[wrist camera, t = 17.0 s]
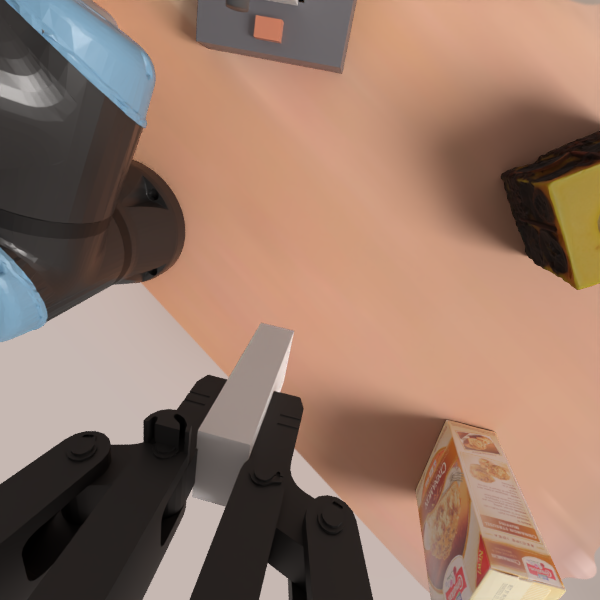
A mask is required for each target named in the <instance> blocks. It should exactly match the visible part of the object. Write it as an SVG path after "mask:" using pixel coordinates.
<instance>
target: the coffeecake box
mask: <svg viewBox="0 0 600 600" xmlns="http://www.w3.org/2000/svg"><path fill="white" fill-rule="evenodd" d="M415 492H416V497H417V504H418V511H419V518H420V525H421V532H422V539H423V546H424V553H425V560H426V567H427V575H428V582H429V589H430V596H431V600H559V598H560V597H561V596H562V595H563V594H564V593H565V592H566V589H565V587H564V585H563V583H562V581H561V579H560V576H559V574H558V572H557V570H556V568H555V565H554V563H553V561H552V559H551V556H550V554H549V552H548V549H547V547H546V545H545V543H544V540H543V538H542V536H541V534H540V531H539V529H538V527H537V525H536V522H535V520H534V518H533V516H532V514H531V511H530V509H529V507H528V505H527V502H526V500H525V498H524V496H523V493H522V491H521V489H520V487H519V484H518V482H517V480H516V478H515V475H514V473H513V471H512V469H511V466H510V464H509V462H508V460H507V457H506V455H505V453H504V451H503V448H502V446H501V444H500V442H499V439H498V437H497V435H496V432H493V431H489V430H485V429H480V428H476V427H472V426H469V425H466V424H463V423H459V422H454V421H450V420H446V422H445V424H444V426H443V429H442V431H441V433H440V435H439V437H438V440H437V442H436V444H435V447H434V449H433V451H432V454H431V456H430V458H429V461H428V463H427V465H426V468H425V470H424V472H423V474H422V477H421V479H420V481H419V484H418V486H417V488H416V491H415Z"/></svg>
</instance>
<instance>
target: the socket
mask: <svg viewBox="0 0 600 600" xmlns="http://www.w3.org/2000/svg"><path fill="white" fill-rule="evenodd" d="M356 1H357V0H304V3H302V2H298V6H296V5H291V4H285V3H279V2H273V1H268V0H250V1H249V11H248V12H238V11H235V10H232V9H230V8H228V7H226V5H225V4H226V0H198V10H197V30H196V41H197V42H199V43H200V44H202V45H204V46H205V47H207V48H208V49H214V50H219V51H224V52H230V53H235V54H240V55H246V56H251V57H256V58H262V59H267V60H272V61H278V62H283V63H288V64H293V65H299V66H304V67H309V68H315V69H320V70H325V71H331V72H336V73H341V74H342V72H343V67H344V62H345V57H346V52H347V47H348V42H349V37H350V32H351V26H352V21H353V16H354V11H355V6H356Z"/></svg>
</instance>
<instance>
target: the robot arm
mask: <svg viewBox="0 0 600 600" xmlns="http://www.w3.org/2000/svg"><path fill="white" fill-rule="evenodd" d="M155 79H156V77H155V70H154V66H153V63H152V61H151V59H150V57H149V56H148V54H147V53H146V52H145V51H144V49H143V48H142V47H141V46H139V45H138V44H137V43H136V42H135V41H134V40H132V39H131V38H130V37H129V36H128V35H126V34H125V33H124V32H123V31H121V30H120V29H119V28H117V27H116V26H115V25H114V24H112V23H111V22H110V21H109V20H107V19H106V18H105V17H103V16H102V15H101V14H99V13H98V12H97V11H95V10H94V9H93V8H91V7H90V6H89V5H87V4H86V3H85V2H83V1H82V0H0V342H3V341H7V340H10V339H13V338H15V337H17V336H20V335H22V334H24V333H27V332H29V331H32V330H36V329H38V328H40V327H42V326H44V324H45V323H46V322H47V321H49V320H50V319H52V318H54V317H56V316H58V315H60V314H61V313H63V312H65V311H67V310H69V309H70V308H72V307H74V306H76V305H77V304H79V303H81V302H83V301H85V300H86V299H88V298H90V297H92V296H93V295H95V294H97V293H99V292H100V291H102V290H104V289H106V288H108V287H109V286H111V285H114V284H128V283H140V282H144V281H148V280H151V279H153V278H155V277H157V276H159V275H160V274H162V273H164V272H165V271H167V270H168V269H169V268H170V267H172V265H173V264H174V263H175V262H176V261H177V259H178V258H179V256H180V254H181V251H182V249H183V245H184V240H185V223H184V218H183V214H182V210H181V207H180V205H179V203H178V200H177V198H176V197H175V195H174V193H173V192H172V190H171V189H170V187H169V186H168V185H167V184H166V182H165V181H164V180H163V179H162V178H161V177H160V176H159V175H158V174H156V173H155V172H154V171H153V170H151V169H150V168H148V167H146V166H145V165H143V164H141V163H138V162H136V161H133V160H132V158H133V156H134V153H135V150H136V147H137V144H138V141H139V138H140V135H141V133H142V130H143V128H146V125H147V121H146V115H147V111H148V107H149V104H150V100H151V96H152V93H153V89H154V86H155ZM293 334H294V331H293V330H289V329H284V328H280V327H276V326H272V325H268V324H264V323H261V324H260V325H259V327H258V329H257V330H256V332H255V334H254V336H253V337H252V339H251V341H250V342H249V344H248V346H247V347H246V349H245V351H244V353H243V354H242V356H241V358H240V359H239V361H238V363H237V365H236V366H235V368H234V370H233V371H232V373H231V375H230V376H229V378H228V380H227V379H223V378H219V377H215V376H211V375H207V376H205V377H204V378H202V379H200V380H199V381H197V382H196V384H195V385H194V387H193V388H192V389H191V391H190V393H189V394H188V395H187V396H186V398H185V400H184V401H183V402H182V403H181V405H180V406H179V408H178V409H177V410H171V409H167V410H160V411H157V412H155V413H153V414H150V415H149V416H148V417H147V418H146V419H145V420H144V442H143V443H139V444H132V445H110V440H109V438H108V437H107V436H106V435H105V434H103V433H100V432H96V431H86V432H81V433H78V434H75V435H73V436H71V437H69V438H67V439H65V440H64V441H62V442H61V443H59V444H58V445H56V446H55V447H53V448H52V449H51V450H49V451H48V452H46V453H45V454H43V455H42V456H40V457H39V458H38V459H36V460H35V461H34V462H32V463H30V464H29V465H28V466H26V467H25V468H23V469H22V470H20V471H19V472H17V473H16V474H15V475H13V476H12V477H10V478H9V479H7V480H6V481H4V482H3V483H1V484H0V600H142V599H143V597H144V595H145V593H146V591H147V589H148V587H149V585H150V583H151V581H152V579H153V577H154V575H155V573H156V571H157V568H158V567H159V564H160V562H161V560H162V558H163V556H164V554H165V552H166V550H167V548H168V546H169V544H170V542H171V540H172V538H173V536H174V534H175V532H176V530H177V527H178V526H179V524H180V521H181V519H182V517H183V515H184V512H185V508H186V500H187V498H188V496H189V494H190V492H191V490H192V488H193V495H192V496H193V497H194V498H198V499H201V500H205V501H208V502H212V503H215V504H219V505H222V506H226V507H225V510H224V513H223V515H222V518H221V520H220V523H219V526H218V528H217V531H216V533H215V536H214V538H213V541H212V543H211V546H210V549H209V551H208V554H207V556H206V559H205V562H204V564H203V567H202V569H201V572H200V574H199V577H198V580H197V582H196V585H195V587H194V590H193V592H192V595H191V598H190V600H259V597H260V592H261V588H262V584H263V580H264V575H265V571H266V567H267V563H269V564H270V565H271V566H273V567H274V568H275V569H276V570H278V571H279V572H281V573H282V574H283V575H284V576H286V577H287V578H288V590H289V600H373V597H372V592H371V587H370V583H369V578H368V573H367V569H366V564H365V559H364V555H363V550H362V545H361V541H360V536H359V531H358V526H357V522H356V519H355V516H354V514H353V511H352V510H351V509H350V508H349V506H348V505H347V504H346V503H345V502H343V501H342V500H340V499H338V498H337V497H332V496H328V495H327V496H319V497H317V498H315V499H314V498H313V497H311V496H310V495H308V494H306V493H305V492H304V491H302V490H301V489H300V488H299V487H298V486H297V485H296V483H295V482H294V480H293V478H292V476H291V471H290V466H291V460H292V456H293V452H294V447H295V443H296V439H297V435H298V430H299V426H300V422H301V417H302V413H303V409H304V408H303V405H302V402H301V399H300V398H299V397H296V396H292V395H288V394H284V393H280V391H281V388H282V385H283V382H284V378H285V373H286V368H287V363H288V359H289V354H290V349H291V344H292V339H293Z"/></svg>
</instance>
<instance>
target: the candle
mask: <svg viewBox="0 0 600 600" xmlns="http://www.w3.org/2000/svg"><path fill="white" fill-rule="evenodd" d="M501 179H502V180H503V181H504V186H505V190H506V192H507V199H508V201H509V203H510V205H511V210H512V214H513V216H514V218H515V220H516V225H517V226H518V231H519V232H520V233H521V236H522V239H523V241H524V244H525V252H526V254H527V255H528V257H529V258H530V259H532V260H533V261H534V263H535V264H536V265H538V266H541V267H542V268H543V269H546V270H548V271H550V272H552V273H553V274H555V275H556V276H558V277H561V278H562V279H563V280H564V281H565V282H568V283H569V284H570V285H571V286H572V287H574V288H575V289H577V290H580V289H583V288H587V287H590V286H593V285H596V284H599V283H600V131H598V132H596V133H594V134H591V135H589V136H587V137H584V138H582V139H577V140H576V141H574V142H571V143H569V144H567V145H565V146H563V147H561V148H558V149H555V150H553V151H550V152H548V153H547V154H546V155H541V156H540V157H539V159H538V161H536V162H535V163H533V164H529V165H525V166H523V167H516V168H513V169H512V170H508V171H506V172H505V173H502V176H501Z"/></svg>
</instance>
